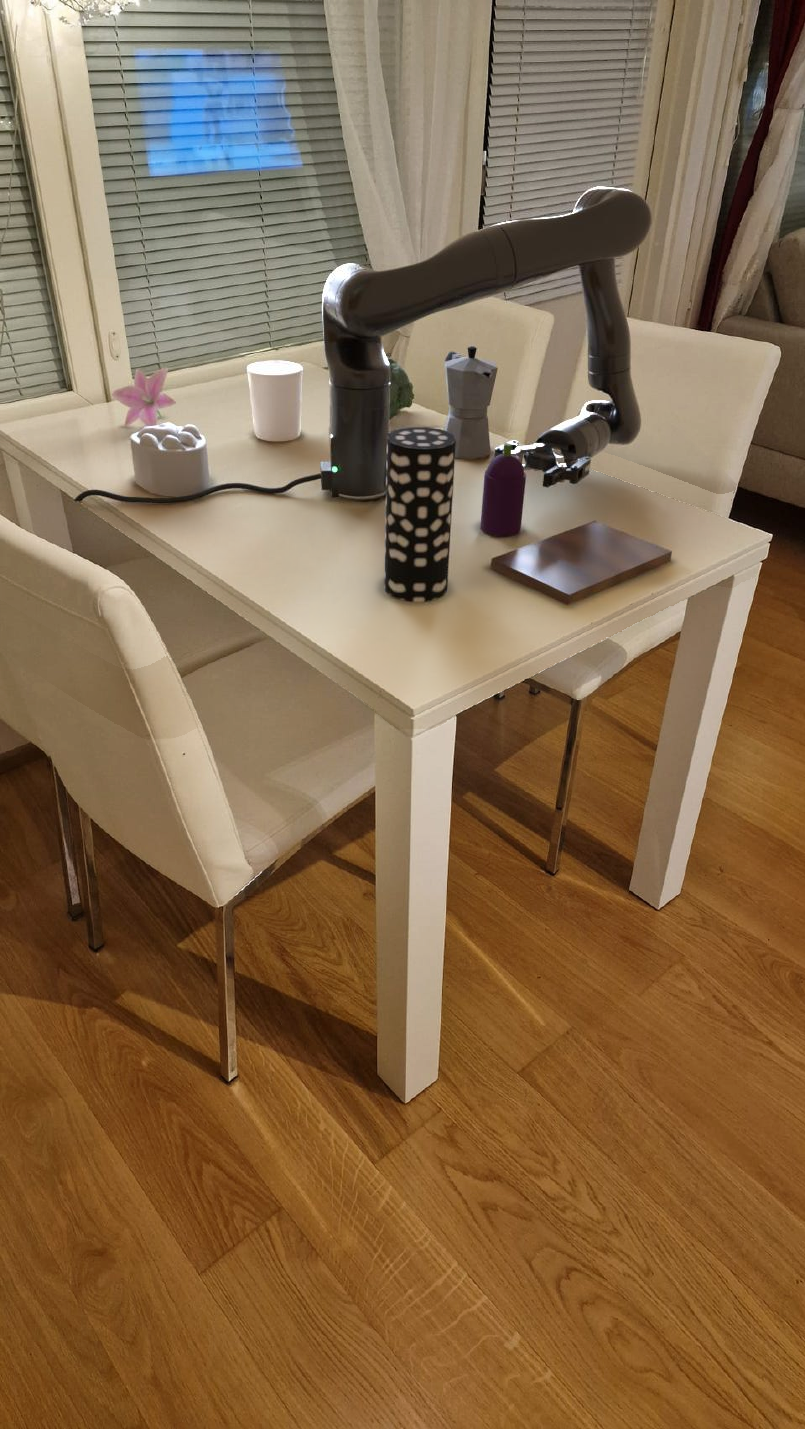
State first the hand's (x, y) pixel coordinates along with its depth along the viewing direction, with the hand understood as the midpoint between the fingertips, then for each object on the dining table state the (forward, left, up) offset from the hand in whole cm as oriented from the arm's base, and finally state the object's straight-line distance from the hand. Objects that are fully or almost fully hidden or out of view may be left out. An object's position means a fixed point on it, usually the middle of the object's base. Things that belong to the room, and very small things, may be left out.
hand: (519, 474), depth 146 cm
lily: (-60, +48, -7) cm, 77 cm away
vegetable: (-16, +51, -7) cm, 54 cm away
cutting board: (+6, -17, -7) cm, 19 cm away
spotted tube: (-18, -23, -7) cm, 30 cm away
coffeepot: (-3, +32, -7) cm, 33 cm away
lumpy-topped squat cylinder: (-52, +17, -7) cm, 55 cm away
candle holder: (-36, +41, -7) cm, 55 cm away
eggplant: (-3, -4, -7) cm, 8 cm away
